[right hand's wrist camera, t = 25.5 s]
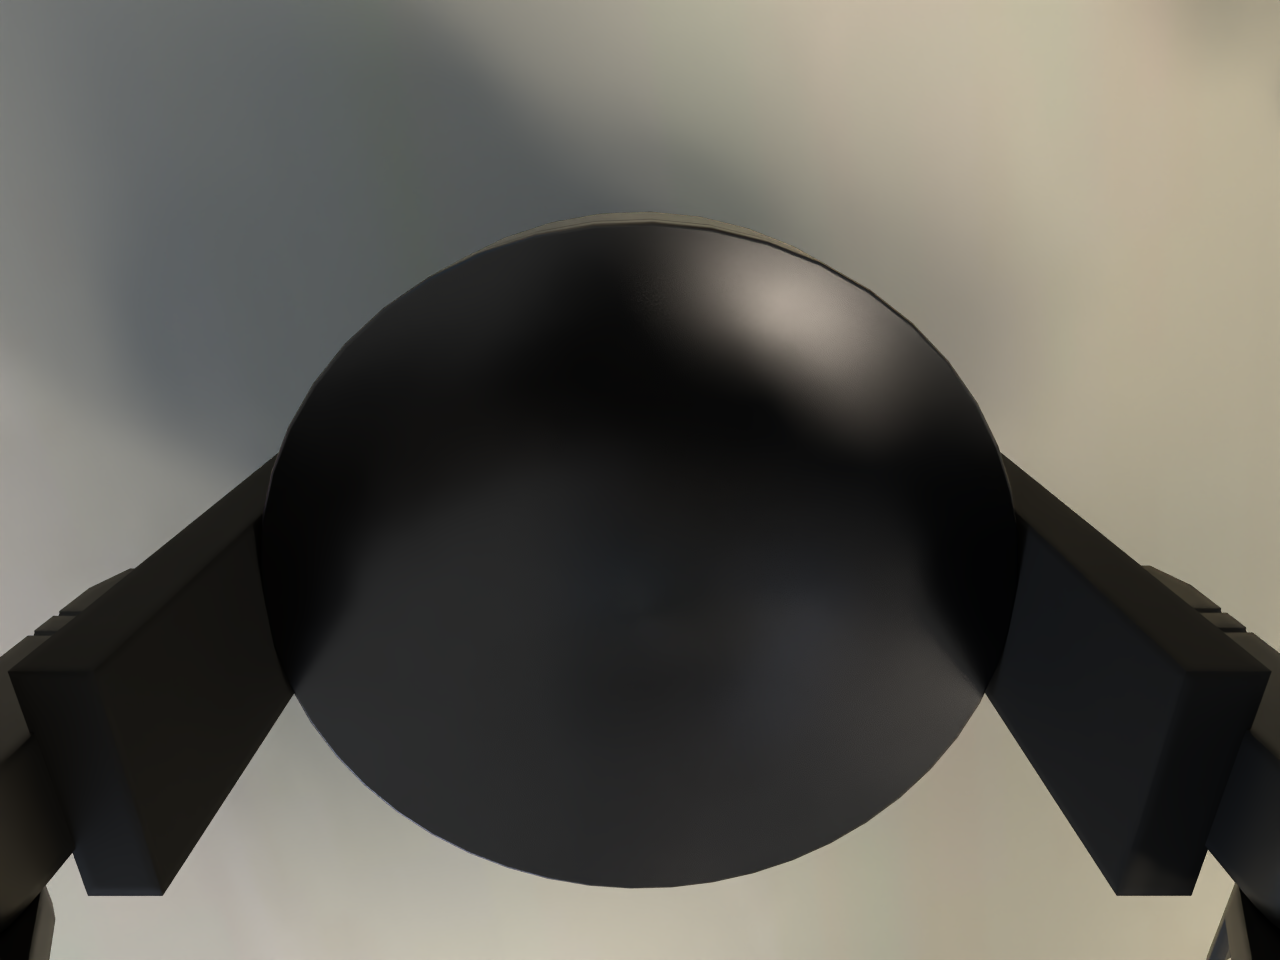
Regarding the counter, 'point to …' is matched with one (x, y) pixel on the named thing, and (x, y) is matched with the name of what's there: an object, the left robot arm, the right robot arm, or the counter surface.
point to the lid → (639, 552)
